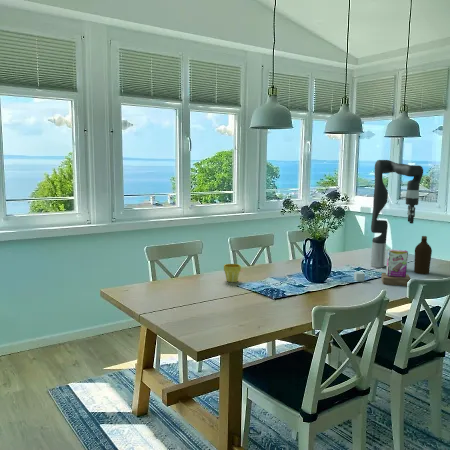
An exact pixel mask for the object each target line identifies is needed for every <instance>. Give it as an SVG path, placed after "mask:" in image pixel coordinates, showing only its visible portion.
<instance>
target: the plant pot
mask: <svg viewBox="0 0 450 450" xmlns="http://www.w3.org/2000/svg"><path fill="white" fill-rule="evenodd" d="M241 270H242V266H241V264H237V263H226V264H224V265H223V272H224V274H225V278H226V281H227V282H229V283H237V282H238V280H239V275H240V272H241Z"/></svg>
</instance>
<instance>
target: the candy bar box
mask: <svg viewBox="0 0 450 450" xmlns="http://www.w3.org/2000/svg"><path fill="white" fill-rule="evenodd" d="M408 254H409V251H408V250H407V249H393V248H392V249H390V248H388V250H387V258H386V259H387V260H386V271H385V273H386V275H387V276H391V277H406V274H407V268H408V267H407V266H408V258H409V257H408V256H409V255H408Z"/></svg>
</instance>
